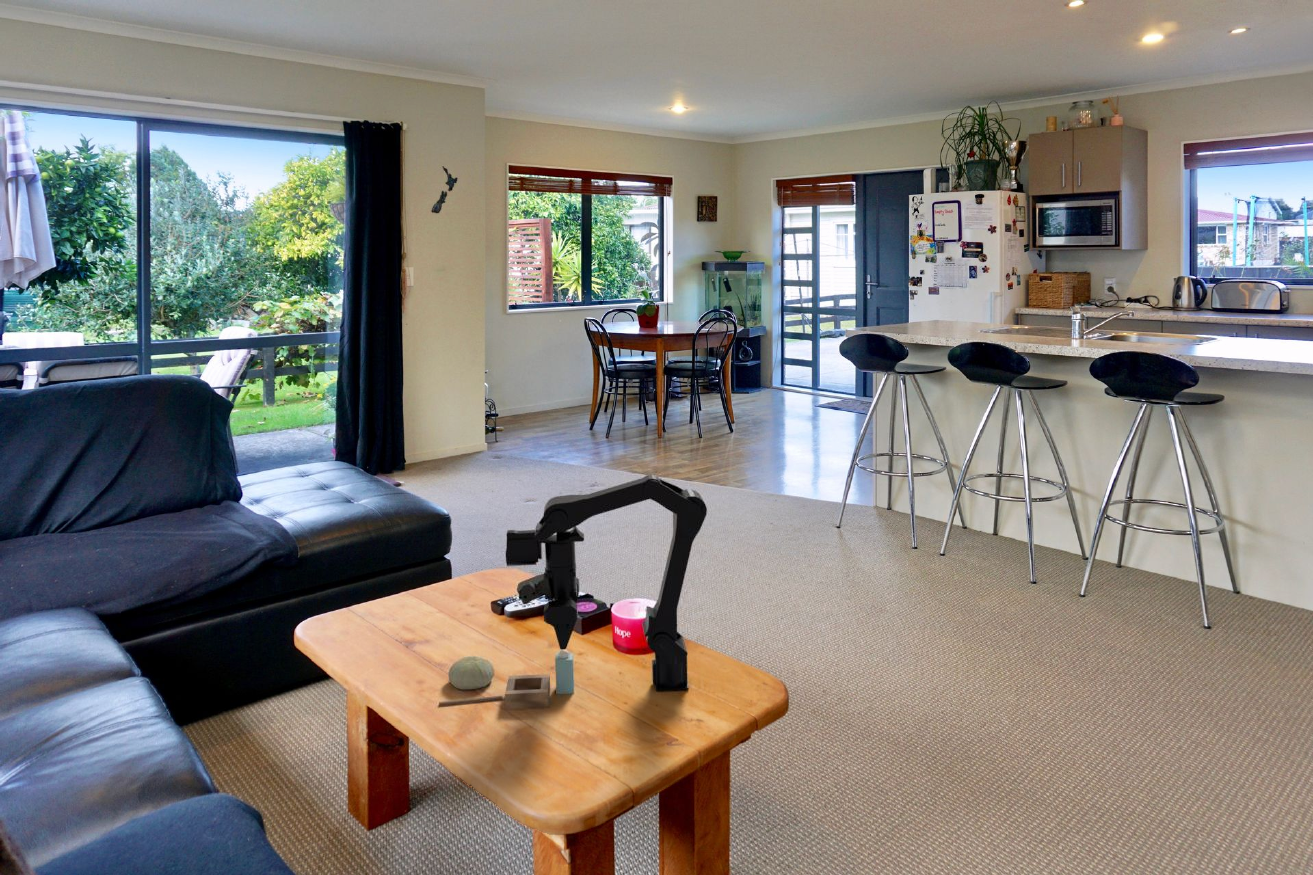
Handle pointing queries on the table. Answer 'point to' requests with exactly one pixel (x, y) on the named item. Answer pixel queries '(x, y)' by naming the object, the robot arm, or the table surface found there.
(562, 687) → the teal rectangular block
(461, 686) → the sea urchin shell
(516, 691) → the wooden socket block
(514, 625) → the table surface
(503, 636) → the table surface
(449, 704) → the brown wooden rod
